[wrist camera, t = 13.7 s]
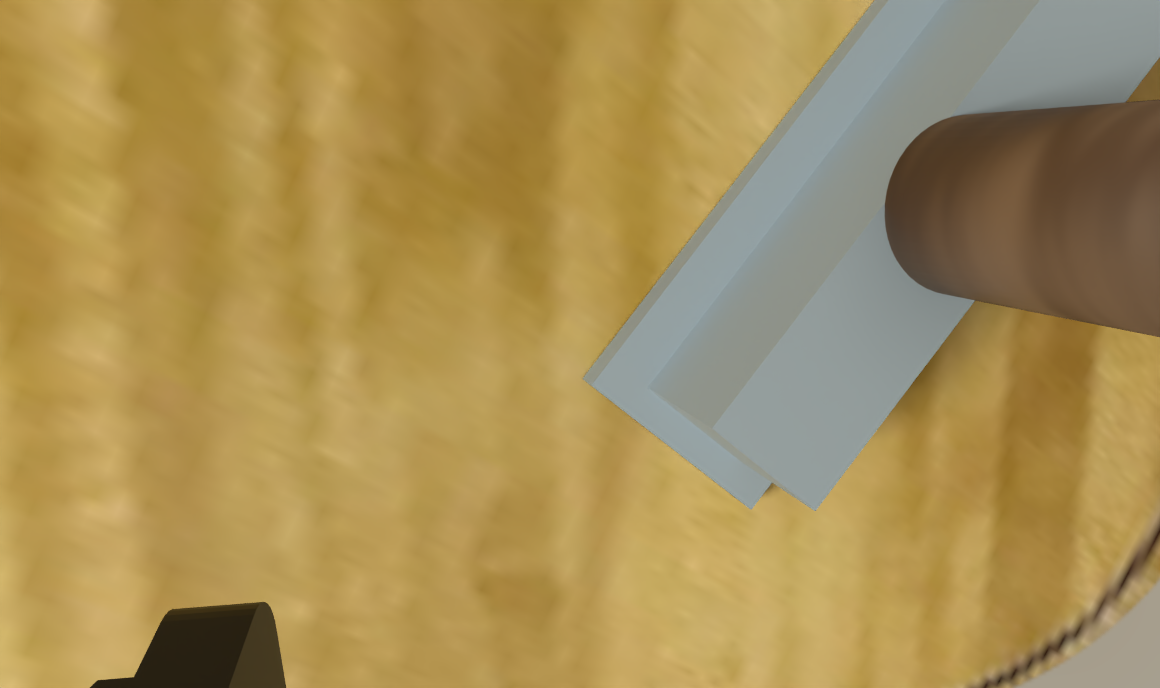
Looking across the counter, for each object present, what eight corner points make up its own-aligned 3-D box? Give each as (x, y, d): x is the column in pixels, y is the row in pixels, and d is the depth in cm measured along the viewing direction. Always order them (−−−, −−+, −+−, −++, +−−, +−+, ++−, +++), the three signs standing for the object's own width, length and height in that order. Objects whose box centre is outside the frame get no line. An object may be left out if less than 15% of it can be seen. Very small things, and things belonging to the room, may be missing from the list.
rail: (967, -120, 32) (1114, -183, 26) (1094, 32, 34) (1255, 5, 28) (582, 379, 31) (646, 426, 25) (738, 499, 33) (829, 569, 27)
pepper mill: (961, 76, 26) (1519, 0, 14) (1069, 192, 28) (1653, 213, 16) (850, 220, 26) (1320, 267, 14) (965, 329, 27) (1476, 454, 16)
